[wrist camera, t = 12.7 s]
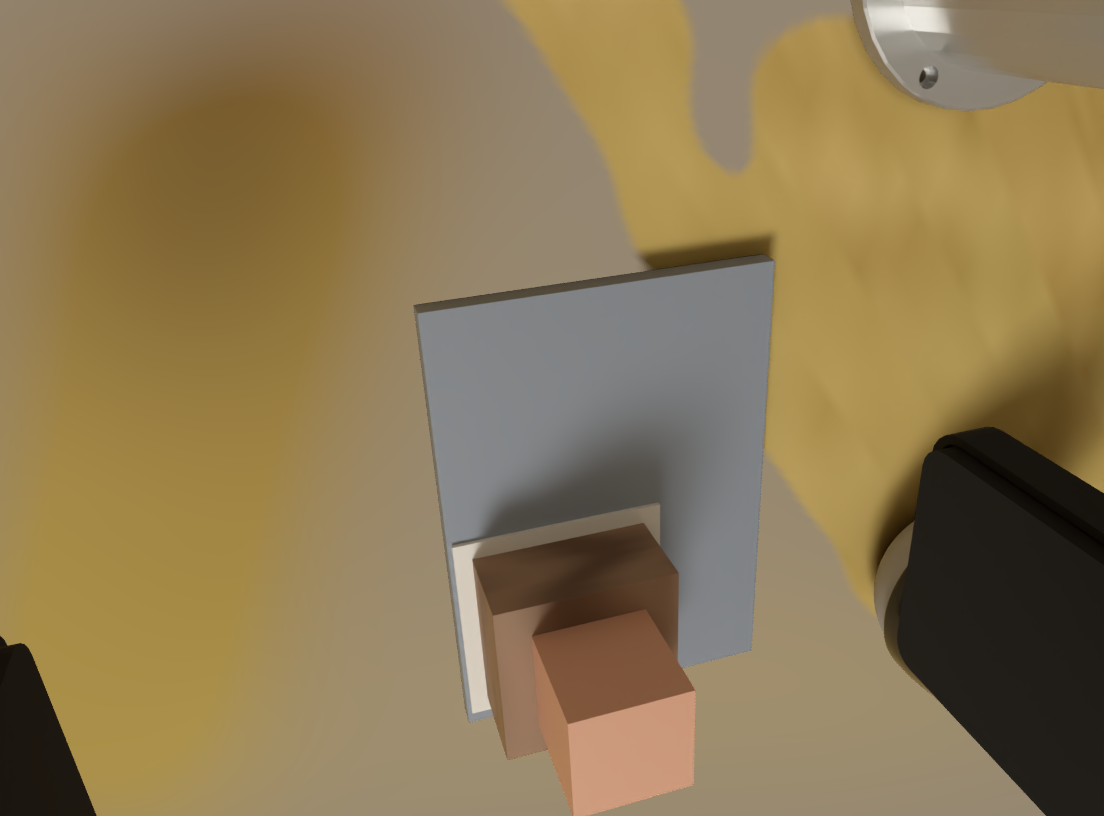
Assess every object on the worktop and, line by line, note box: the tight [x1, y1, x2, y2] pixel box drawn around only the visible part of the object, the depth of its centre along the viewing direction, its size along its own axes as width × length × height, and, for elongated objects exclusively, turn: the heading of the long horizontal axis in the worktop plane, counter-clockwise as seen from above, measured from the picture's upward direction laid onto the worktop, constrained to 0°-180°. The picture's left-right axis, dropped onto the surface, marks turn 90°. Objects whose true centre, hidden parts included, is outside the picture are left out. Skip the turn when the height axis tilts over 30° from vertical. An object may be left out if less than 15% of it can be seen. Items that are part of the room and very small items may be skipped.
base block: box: [472, 523, 679, 760], centre depth 40 cm, size 8×8×4 cm
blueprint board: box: [414, 254, 775, 722], centre depth 41 cm, size 15×21×1 cm
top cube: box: [532, 609, 695, 816], centre depth 37 cm, size 5×5×5 cm
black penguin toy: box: [874, 521, 938, 700], centre depth 43 cm, size 10×10×15 cm
